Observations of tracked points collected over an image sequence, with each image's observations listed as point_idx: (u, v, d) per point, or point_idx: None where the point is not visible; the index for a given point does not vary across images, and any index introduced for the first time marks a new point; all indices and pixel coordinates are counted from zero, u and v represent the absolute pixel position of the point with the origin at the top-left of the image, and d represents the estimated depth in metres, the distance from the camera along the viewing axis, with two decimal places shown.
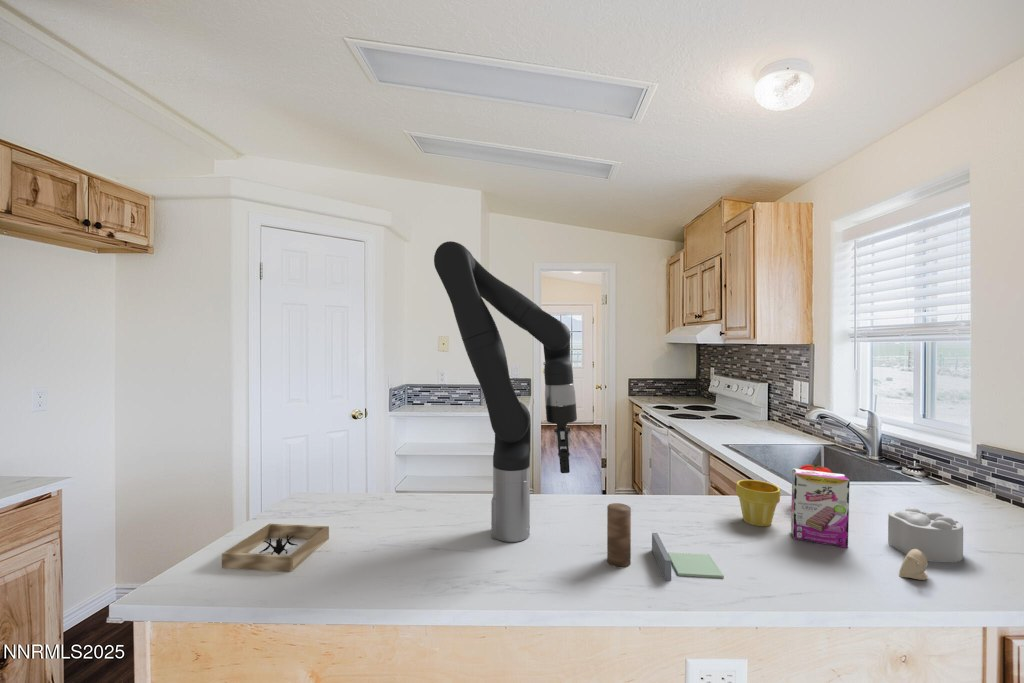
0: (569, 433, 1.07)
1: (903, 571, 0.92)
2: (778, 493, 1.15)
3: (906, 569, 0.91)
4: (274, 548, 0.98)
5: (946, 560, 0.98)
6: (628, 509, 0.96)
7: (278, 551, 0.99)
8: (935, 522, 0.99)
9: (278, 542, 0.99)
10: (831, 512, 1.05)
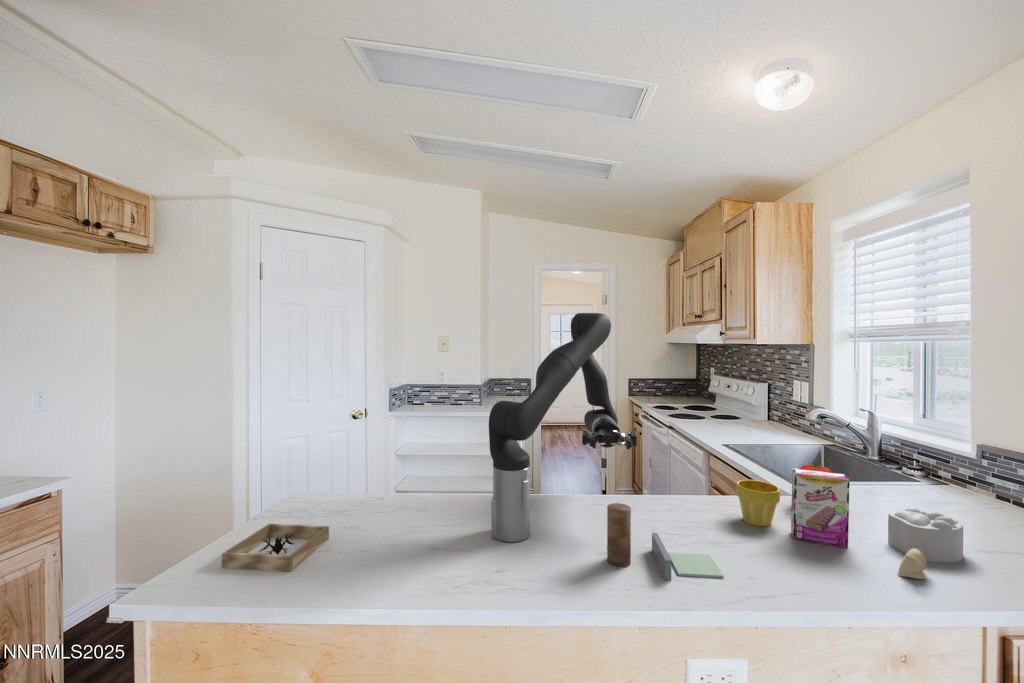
0: None
1: (902, 570, 0.92)
2: (778, 493, 1.15)
3: (905, 568, 0.91)
4: (273, 547, 0.99)
5: (946, 559, 0.98)
6: (628, 509, 0.96)
7: (277, 550, 0.99)
8: (935, 522, 0.99)
9: (277, 541, 1.00)
10: (831, 512, 1.05)
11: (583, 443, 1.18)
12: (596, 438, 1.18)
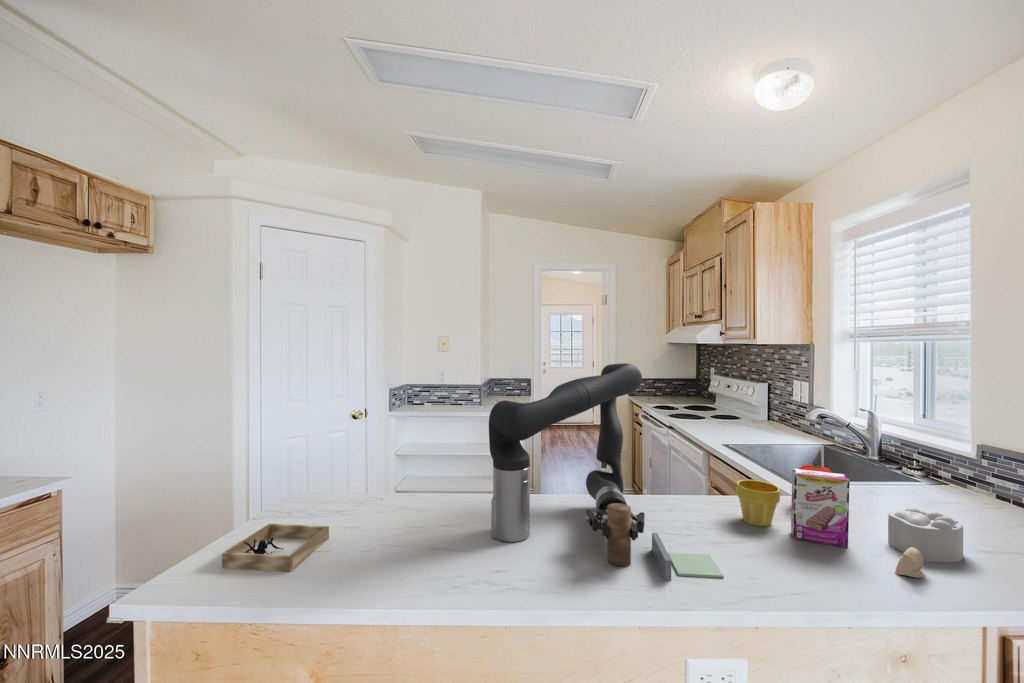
0: None
1: (899, 569, 0.92)
2: (778, 493, 1.15)
3: (902, 567, 0.92)
4: (253, 550, 0.97)
5: (946, 559, 0.98)
6: (628, 509, 0.96)
7: None
8: (935, 522, 0.99)
9: (259, 544, 0.98)
10: (831, 512, 1.05)
11: (594, 529, 1.00)
12: (606, 522, 1.01)
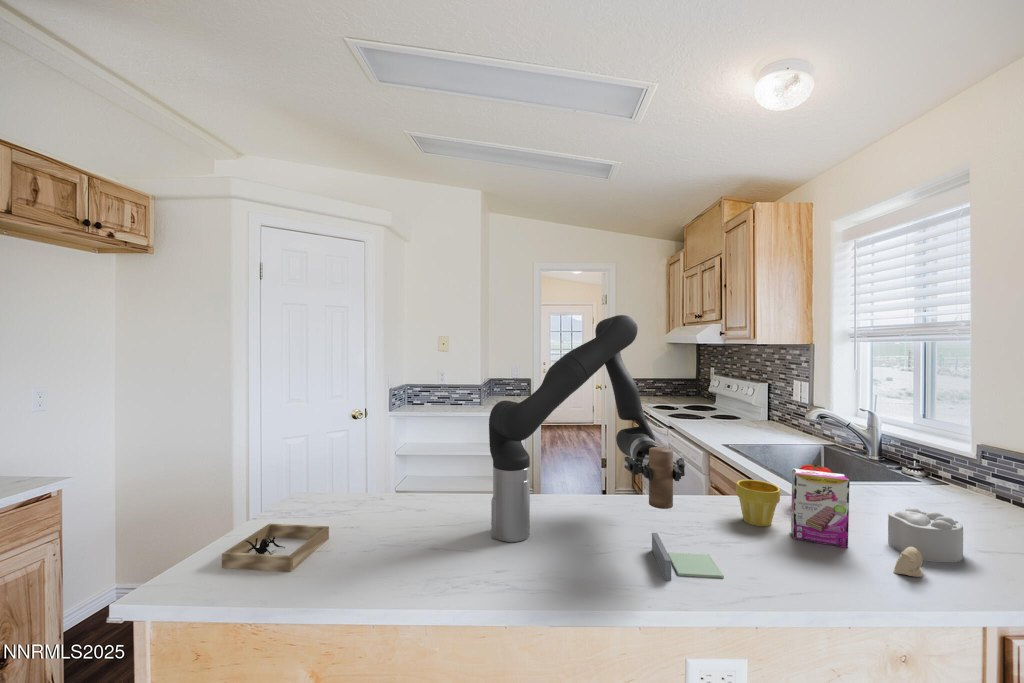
0: None
1: (898, 568, 0.93)
2: (778, 493, 1.15)
3: (900, 566, 0.92)
4: (255, 549, 0.98)
5: (946, 559, 0.98)
6: (671, 451, 0.96)
7: (259, 552, 0.98)
8: (935, 522, 0.99)
9: (261, 543, 0.99)
10: (831, 512, 1.05)
11: (635, 473, 0.99)
12: (647, 466, 1.00)
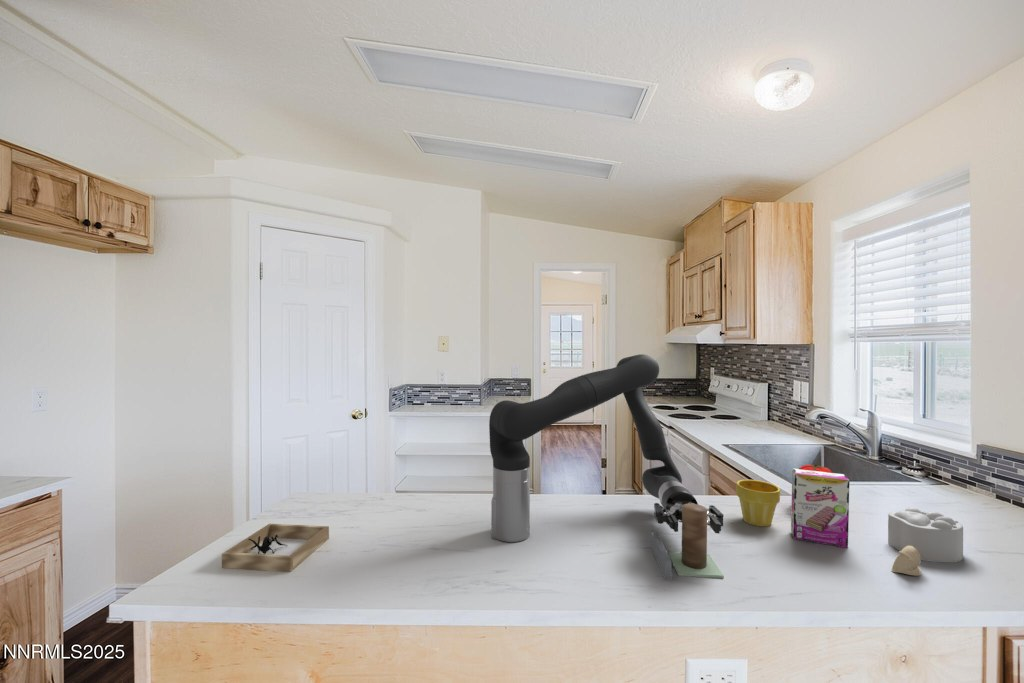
0: None
1: (895, 566, 0.93)
2: (778, 493, 1.15)
3: (898, 564, 0.93)
4: (258, 547, 0.99)
5: (946, 559, 0.98)
6: (705, 510, 0.95)
7: (262, 550, 0.99)
8: (935, 522, 0.99)
9: (263, 541, 1.00)
10: (831, 512, 1.05)
11: (659, 521, 0.99)
12: (674, 515, 1.00)
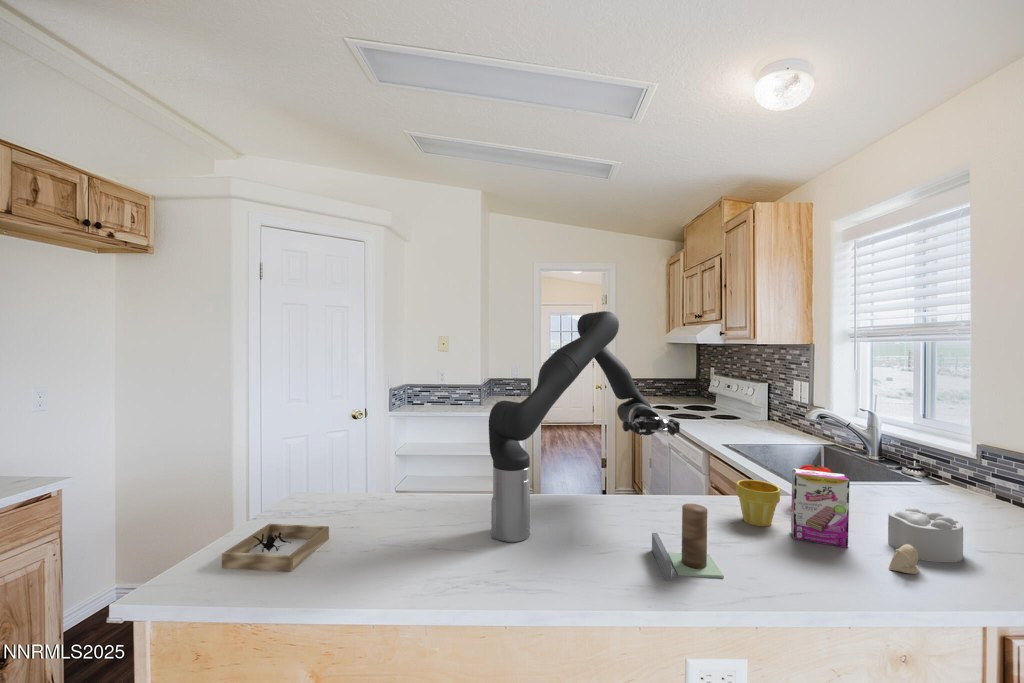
0: None
1: (892, 564, 0.94)
2: (778, 493, 1.15)
3: (895, 563, 0.94)
4: (263, 544, 1.00)
5: (946, 559, 0.98)
6: (705, 510, 0.94)
7: (267, 547, 1.00)
8: (935, 522, 0.99)
9: (268, 538, 1.01)
10: (831, 512, 1.05)
11: (625, 429, 1.17)
12: (638, 425, 1.17)
